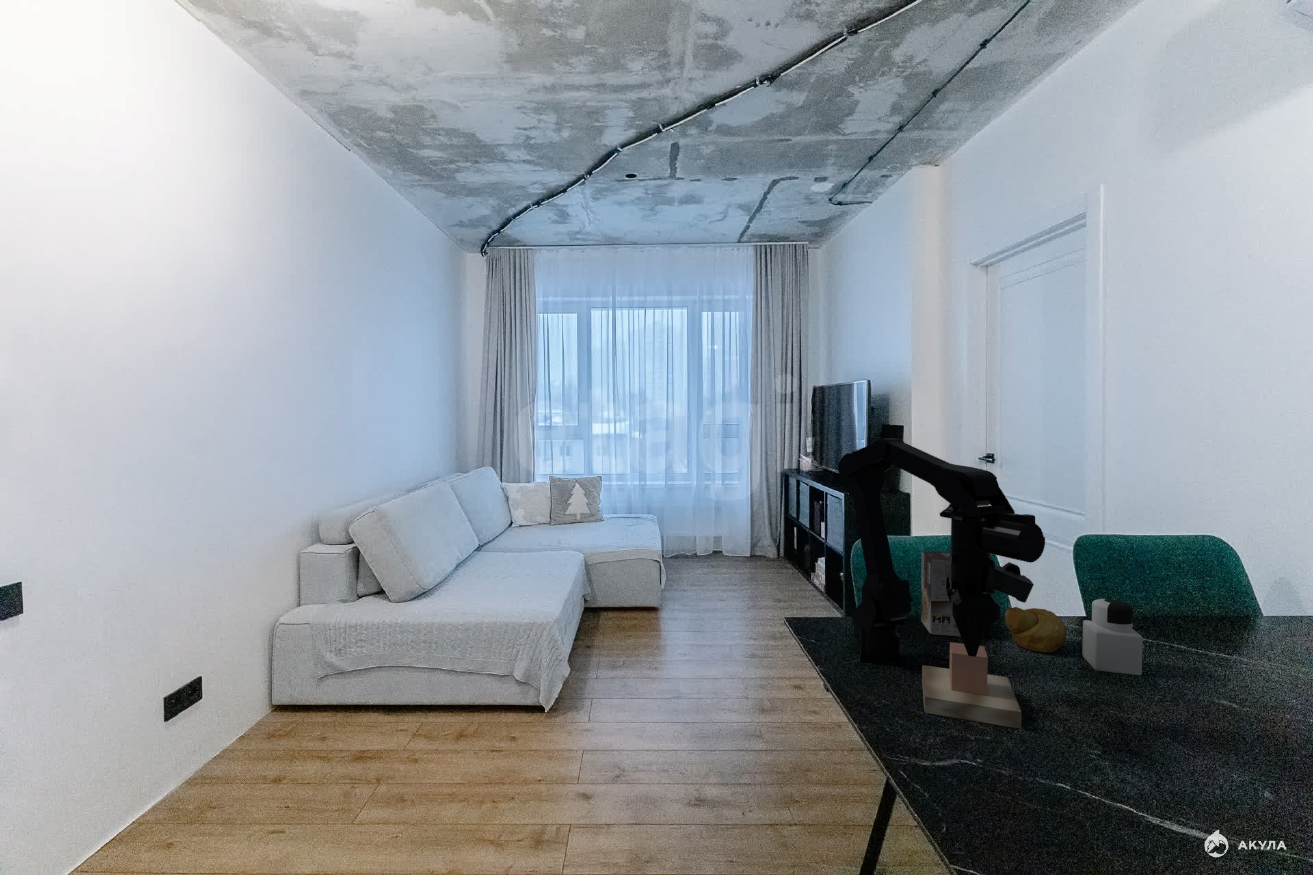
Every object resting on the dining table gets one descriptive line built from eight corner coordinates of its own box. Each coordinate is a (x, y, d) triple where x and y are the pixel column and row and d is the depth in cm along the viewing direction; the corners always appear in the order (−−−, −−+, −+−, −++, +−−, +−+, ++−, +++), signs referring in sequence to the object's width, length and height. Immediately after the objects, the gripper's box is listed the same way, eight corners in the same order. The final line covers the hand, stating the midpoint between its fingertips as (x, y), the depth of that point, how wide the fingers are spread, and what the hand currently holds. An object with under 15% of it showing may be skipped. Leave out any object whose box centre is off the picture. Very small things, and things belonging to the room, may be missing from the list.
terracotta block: (951, 690, 96) (952, 652, 96) (949, 677, 101) (949, 642, 101) (987, 695, 95) (987, 657, 94) (983, 682, 99) (983, 646, 99)
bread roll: (1025, 631, 130) (1026, 594, 130) (1078, 644, 123) (1079, 605, 123) (1000, 645, 122) (1001, 606, 122) (1055, 660, 115) (1056, 618, 115)
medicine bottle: (1126, 661, 114) (1127, 597, 114) (1142, 676, 108) (1144, 609, 107) (1081, 656, 117) (1083, 594, 116) (1094, 670, 110) (1096, 605, 110)
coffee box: (962, 637, 127) (964, 560, 126) (929, 634, 128) (930, 558, 128) (950, 622, 136) (952, 550, 135) (920, 620, 137) (921, 549, 137)
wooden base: (924, 712, 94) (924, 696, 94) (922, 679, 106) (922, 665, 106) (1021, 728, 89) (1021, 711, 89) (1006, 691, 101) (1007, 677, 101)
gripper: (1041, 566, 85) (1039, 676, 86) (1018, 541, 103) (1016, 633, 103) (953, 559, 89) (952, 664, 90) (945, 537, 107) (944, 624, 107)
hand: (969, 645), depth 97 cm, fingers open, 9 cm apart
